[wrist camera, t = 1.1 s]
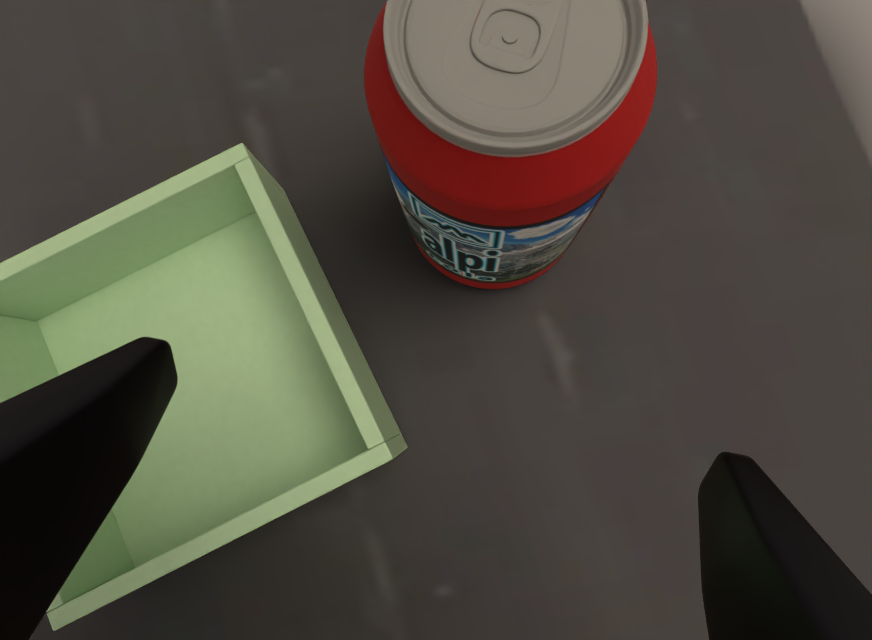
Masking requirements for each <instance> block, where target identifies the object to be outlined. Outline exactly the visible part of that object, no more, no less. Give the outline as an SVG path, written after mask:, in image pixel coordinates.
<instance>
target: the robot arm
mask: <svg viewBox="0 0 872 640" xmlns="http://www.w3.org/2000/svg"><path fill="white" fill-rule="evenodd" d="M177 382H178V375H177V371H176V366H175V362H174V358H173V353H172V349H171V346H170V344H169V343H168V342H167V341H165V340H162V339H157V338H152V337H140V338H138V339H136V340H133V341H131V342H129V343H127V344H125V345H123V346H121V347H118V348H116V349H114V350H112V351H110V352H108V353H106V354H104V355H101V356H99V357H97V358H95V359H93V360H91V361H89V362H86V363H84V364H82V365H80V366H78V367H76V368H74V369H72V370H69V371H67V372H65V373H63V374H61V375H59V376H57V377H54V378H52V379H50V380H48V381H46V382H44V383H42V384H40V385H37V386H35V387H33V388H31V389H29V390H27V391H25V392H22V393H20V394H18V395H16V396H14V397H12V398H10V399H8V400H5V401H3V402H1V403H0V640H29V638H30V637H31V635H32V634H33V632H34V630H35V629H36V627H37V626H38V624H39V622H40V621H41V619H42V618H43V616H44V615H45V613H46V611H47V610H48V608H49V607H50V605H51V604H52V602H53V600H54V599H55V597H56V596H57V594H58V592H59V591H60V589H61V588H62V586H63V585H64V583H65V581H66V580H67V578H68V577H69V575H70V573H71V572H72V570H73V569H74V567H75V566H76V564H77V562H78V561H79V559H80V558H81V556H82V555H83V553H84V551H85V550H86V548H87V547H88V545H89V543H90V542H91V540H92V539H93V537H94V536H95V534H96V532H97V531H98V529H99V528H100V526H101V524H102V523H103V521H104V520H105V518H106V517H107V515H108V513H109V512H110V510H111V509H112V507H113V506H114V504H115V502H116V501H117V499H118V498H119V496H120V494H121V493H122V491H123V490H124V488H125V487H126V485H127V483H128V482H129V480H130V479H131V477H132V475H133V474H134V472H135V470H136V469H137V467H138V465H139V463H140V461H141V459H142V457H143V455H144V453H145V451H146V449H147V447H148V445H149V443H150V441H151V439H152V437H153V435H154V433H155V431H156V429H157V427H158V425H159V423H160V421H161V419H162V417H163V415H164V413H165V411H166V408H167V406H168V404H169V402H170V400H171V398H172V396H173V394H174V392H175V390H176V387H177ZM698 509H699V534H700V560H701V581H702V594H703V601H704V609H705V615H706V622H707V628H708V634H709V640H872V595H871V594H870V592H869V591H868V590H867V589H866V588H865V587H864V586H863V584H862V583H861V582H860V581H859V580H858V579H857V578H856V576H855V575H854V574H853V573H852V572H851V571H850V570H849V568H848V567H847V566H846V565H845V564H844V563H843V562H842V560H841V559H840V558H839V557H838V556H837V555H836V554H835V552H834V551H833V550H832V549H831V548H830V547H829V546H828V544H827V543H826V542H825V541H824V540H823V539H822V538H821V536H820V535H819V534H818V533H817V532H816V531H815V530H814V528H813V527H812V526H811V525H810V524H809V523H808V522H807V520H806V519H805V518H804V517H803V516H802V515H801V514H800V512H799V511H798V510H797V509H796V508H795V507H794V506H793V504H792V503H791V502H790V501H789V500H788V499H787V498H786V496H785V495H784V494H783V493H782V492H781V491H780V490H779V489H778V487H777V486H776V485H775V484H774V483H773V482H772V481H771V479H770V478H769V477H768V476H767V475H766V474H765V473H764V471H763V470H762V469H761V468H760V467H759V466H758V465H757V463H756V462H755V461H754V460H753V459H752V458H750V457H748V456H745V455H740V454H735V453H730V452H722V453H720V454H719V455H718V456H717V457H716V459H715V461H714V462H713V464H712V466H711V467H710V469H709V471H708V472H707V474H706V476H705V477H704V479H703V481H702V482H701V485H700V488H699V493H698Z"/></svg>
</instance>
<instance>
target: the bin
mask: <svg viewBox="0 0 872 640" xmlns="http://www.w3.org/2000/svg"><path fill="white" fill-rule="evenodd" d="M140 337H152V338H157V339H162V340H165V341H167V342H168V343H169V344H170V346H171V349H172V353H173V358H174V362H175V366H176V371H177V375H178V382H177V387H176V390H175V392H174V394H173V396H172V398H171V400H170V402H169V404H168V406H167V408H166V411H165V413H164V415H163V417H162V419H161V421H160V423H159V425H158V427H157V429H156V431H155V433H154V435H153V437H152V439H151V441H150V443H149V445H148V447H147V449H146V451H145V453H144V455H143V457H142V459H141V461H140V463H139V465H138V467H137V469H136V470H135V472H134V474H133V475H132V477H131V479H130V480H129V482H128V483H127V485H126V487H125V488H124V490H123V491H122V493H121V494H120V496H119V498H118V499H117V501H116V502H115V504H114V506H113V507H112V509H111V510H110V512H109V513H108V515H107V517H106V518H105V520H104V521H103V523H102V524H101V526H100V528H99V529H98V531H97V532H96V534H95V536H94V537H93V539H92V540H91V542H90V543H89V545H88V547H87V548H86V550H85V551H84V553H83V555H82V556H81V558H80V559H79V561H78V562H77V564H76V566H75V567H74V569H73V570H72V572H71V573H70V575H69V577H68V578H67V580H66V581H65V583H64V585H63V586H62V588H61V589H60V591H59V592H58V594H57V596H56V597H55V599H54V600H53V602H52V604H51V605H50V607H49V608H48V610H47V611H46V612H48V613H47V616H48V618H49V621H50V624H51V627H52V629H53V631H54V630H57V629H59V628H61V627H63V626H65V625H67V624H69V623H71V622H73V621H75V620H77V619H79V618H81V617H83V616H85V615H87V614H89V613H91V612H93V611H95V610H97V609H99V608H101V607H103V606H105V605H107V604H109V603H111V602H113V601H114V600H116V599H118V598H120V597H122V596H124V595H126V594H128V593H130V592H132V591H134V590H136V589H138V588H140V587H142V586H144V585H146V584H148V583H150V582H152V581H154V580H156V579H158V578H160V577H162V576H164V575H166V574H168V573H170V572H172V571H174V570H176V569H178V568H180V567H181V566H183V565H185V564H187V563H189V562H191V561H193V560H195V559H197V558H199V557H201V556H203V555H205V554H207V553H209V552H211V551H213V550H215V549H217V548H219V547H221V546H223V545H225V544H227V543H229V542H231V541H233V540H235V539H237V538H239V537H241V536H243V535H245V534H247V533H248V532H250V531H252V530H254V529H256V528H258V527H260V526H262V525H264V524H266V523H268V522H270V521H272V520H274V519H276V518H278V517H280V516H282V515H284V514H286V513H288V512H290V511H292V510H294V509H296V508H298V507H300V506H302V505H304V504H306V503H308V502H310V501H312V500H314V499H315V498H317V497H319V496H321V495H323V494H325V493H327V492H329V491H331V490H333V489H335V488H337V487H339V486H341V485H343V484H345V483H347V482H349V481H351V480H353V479H355V478H357V477H359V476H361V475H363V474H365V473H367V472H369V471H371V470H373V469H375V468H377V467H379V466H381V465H382V464H384V463H386V462H388V461H390V460H392V459H393V458H395V457H396V456H397V455H399V454H400V453H401V452H403V451H404V450H405V449H407V448H408V447H407V444H406V442H405V440H404V438H403V436H402V434H401V432H400V430H399V428H398V426H397V424H396V422H395V419H394V417H393V415H392V413H391V411H390V409H389V407H388V405H387V403H386V401H385V399H384V397H383V395H382V393H381V390H380V388H379V386H378V384H377V382H376V380H375V378H374V376H373V374H372V372H371V370H370V368H369V366H368V363H367V361H366V359H365V357H364V355H363V353H362V351H361V349H360V347H359V345H358V343H357V341H356V339H355V336H354V334H353V332H352V330H351V328H350V326H349V324H348V322H347V320H346V318H345V316H344V314H343V312H342V310H341V307H340V305H339V303H338V301H337V299H336V297H335V295H334V293H333V291H332V289H331V287H330V285H329V283H328V280H327V278H326V276H325V274H324V272H323V270H322V268H321V266H320V264H319V262H318V260H317V258H316V256H315V253H314V251H313V249H312V247H311V245H310V243H309V241H308V239H307V237H306V235H305V233H304V231H303V229H302V227H301V224H300V222H299V220H298V218H297V216H296V214H295V212H294V210H293V208H292V206H291V204H290V202H289V200H288V197H287V195H286V193H285V191H284V189H283V188H282V187H281V186H280V185H279V184H278V183H277V182H276V180H275V179H274V178H273V177H272V176H271V175H270V174H269V172H268V171H267V170H266V169H265V168H264V167H263V166H262V164H261V163H260V162H259V161H258V160H257V159H256V158H255V156H254V155H253V154H252V153H251V152H250V151H249V150H248V148H247V147H246V146H245V145H244V144H243V143H240V144H238V145H236V146H234V147H232V148H230V149H228V150H226V151H224V152H222V153H220V154H218V155H216V156H214V157H212V158H210V159H208V160H206V161H204V162H202V163H200V164H198V165H196V166H194V167H192V168H190V169H188V170H186V171H184V172H182V173H180V174H178V175H176V176H174V177H172V178H170V179H168V180H166V181H164V182H162V183H160V184H158V185H156V186H154V187H152V188H150V189H148V190H146V191H144V192H142V193H140V194H138V195H136V196H134V197H132V198H130V199H128V200H126V201H124V202H122V203H120V204H118V205H116V206H114V207H112V208H110V209H108V210H106V211H104V212H102V213H100V214H98V215H96V216H94V217H92V218H90V219H88V220H86V221H84V222H82V223H80V224H78V225H76V226H74V227H72V228H70V229H68V230H66V231H64V232H62V233H60V234H58V235H56V236H54V237H52V238H50V239H48V240H46V241H44V242H42V243H40V244H38V245H36V246H34V247H32V248H30V249H28V250H26V251H24V252H22V253H20V254H18V255H16V256H14V257H12V258H10V259H8V260H6V261H4V262H2V263H0V403H1V402H3V401H5V400H8V399H10V398H12V397H14V396H16V395H18V394H20V393H22V392H25V391H27V390H29V389H31V388H33V387H35V386H37V385H40V384H42V383H44V382H46V381H48V380H50V379H52V378H54V377H57V376H59V375H61V374H63V373H65V372H67V371H69V370H72V369H74V368H76V367H78V366H80V365H82V364H84V363H86V362H89V361H91V360H93V359H95V358H97V357H99V356H101V355H104V354H106V353H108V352H110V351H112V350H114V349H116V348H118V347H121V346H123V345H125V344H127V343H129V342H131V341H133V340H136V339H138V338H140Z"/></svg>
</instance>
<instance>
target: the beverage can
mask: <svg viewBox="0 0 872 640" xmlns="http://www.w3.org/2000/svg"><path fill="white" fill-rule="evenodd" d="M656 84H657V59H656V49H655V44H654V39H653V35H652V32H651V29H650V26H649V23H648V15H647V7H646V1H645V0H387V2H386V3H385V5H384V7H383V9H382V10H381V12H380V14H379V16H378V18H377V20H376V23H375V25H374V28H373V31H372V33H371V36H370V40H369V44H368V47H367V52H366V58H365V68H364V86H365V94H366V100H367V105H368V109H369V112H370V115H371V119H372V122H373V125H374V128H375V131H376V134H377V137H378V140H379V143H380V146H381V149H382V153H383V156H384V159H385V162H386V165H387V168H388V170H389V173H390V176H391V179H392V182H393V185H394V188H395V191H396V193H397V196H398V199H399V202H400V204H401V207H402V210H403V213H404V215H405V218H406V220H407V223H408V225H409V228H410V230H411V233H412V235H413V238H414V240H415V242H416V244H417V246H418V248H419V249H420V251H421V252H422V254H423V255H424V256H425V258H426V259H427V260H428V261H429V262H430V263H431V264H432V265H433V266H434V267H435V268H436V269H437V270H439V271H440V272H441V273H443V274H444V275H446V276H447V277H449V278H451V279H453V280H455V281H457V282H459V283H462V284H465V285H468V286H472V287H477V288H483V289H503V288H510V287H514V286H518V285H521V284H524V283H526V282H529V281H531V280H533V279H535V278H537V277H539V276H540V275H542V274H543V273H545V272H546V271H547V270H549V269H550V268H551V267H552V266H553V265H554V264H555V263H556V262H557V261H558V260H559V259H560V258H561V257H562V255H563V254H564V253H565V251H566V250H567V249H568V247H569V246H570V244H571V243H572V242H573V240H574V239H575V237H576V236H577V234H578V233H579V231H580V230H581V228H582V227H583V225H584V224H585V222H586V221H587V219H588V218H589V217H590V215H591V213H592V212H593V210H594V209H595V207H596V206H597V204H598V203H599V201H600V199H601V198H602V196H603V195H604V193H605V192H606V190H607V189H608V187H609V185H610V184H611V182H612V181H613V179H614V177H615V176H616V174H617V173H618V171H619V169H620V168H621V166H622V164H623V163H624V161H625V160H626V158H627V156H628V155H629V153H630V151H631V150H632V148H633V147H634V145H635V143H636V142H637V140H638V138H639V137H640V135H641V133H642V131H643V129H644V127H645V125H646V123H647V120H648V118H649V115H650V112H651V109H652V105H653V102H654V97H655V92H656Z"/></svg>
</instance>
